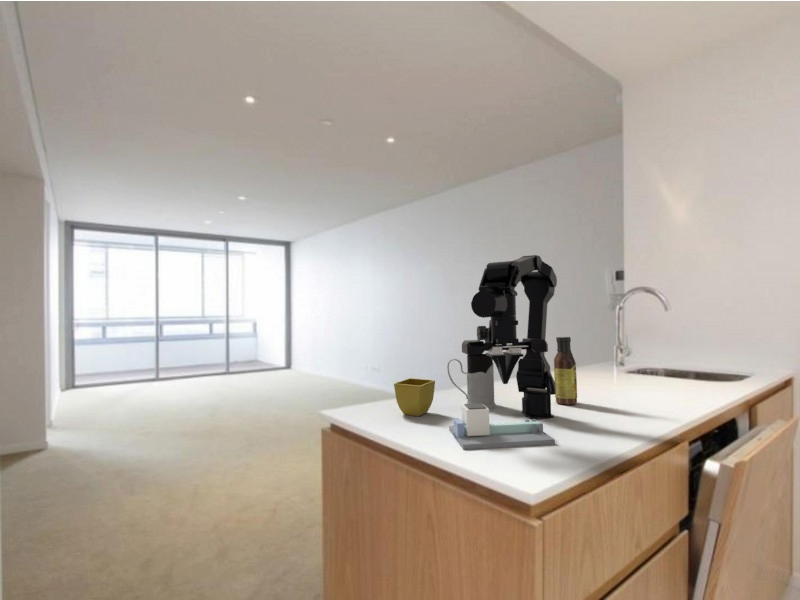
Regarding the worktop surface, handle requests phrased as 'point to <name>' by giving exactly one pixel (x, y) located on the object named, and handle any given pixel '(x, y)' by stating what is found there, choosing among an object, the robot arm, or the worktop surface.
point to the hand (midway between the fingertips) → (505, 383)
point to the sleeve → (476, 419)
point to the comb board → (503, 435)
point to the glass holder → (479, 380)
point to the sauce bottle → (565, 373)
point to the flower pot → (414, 395)
